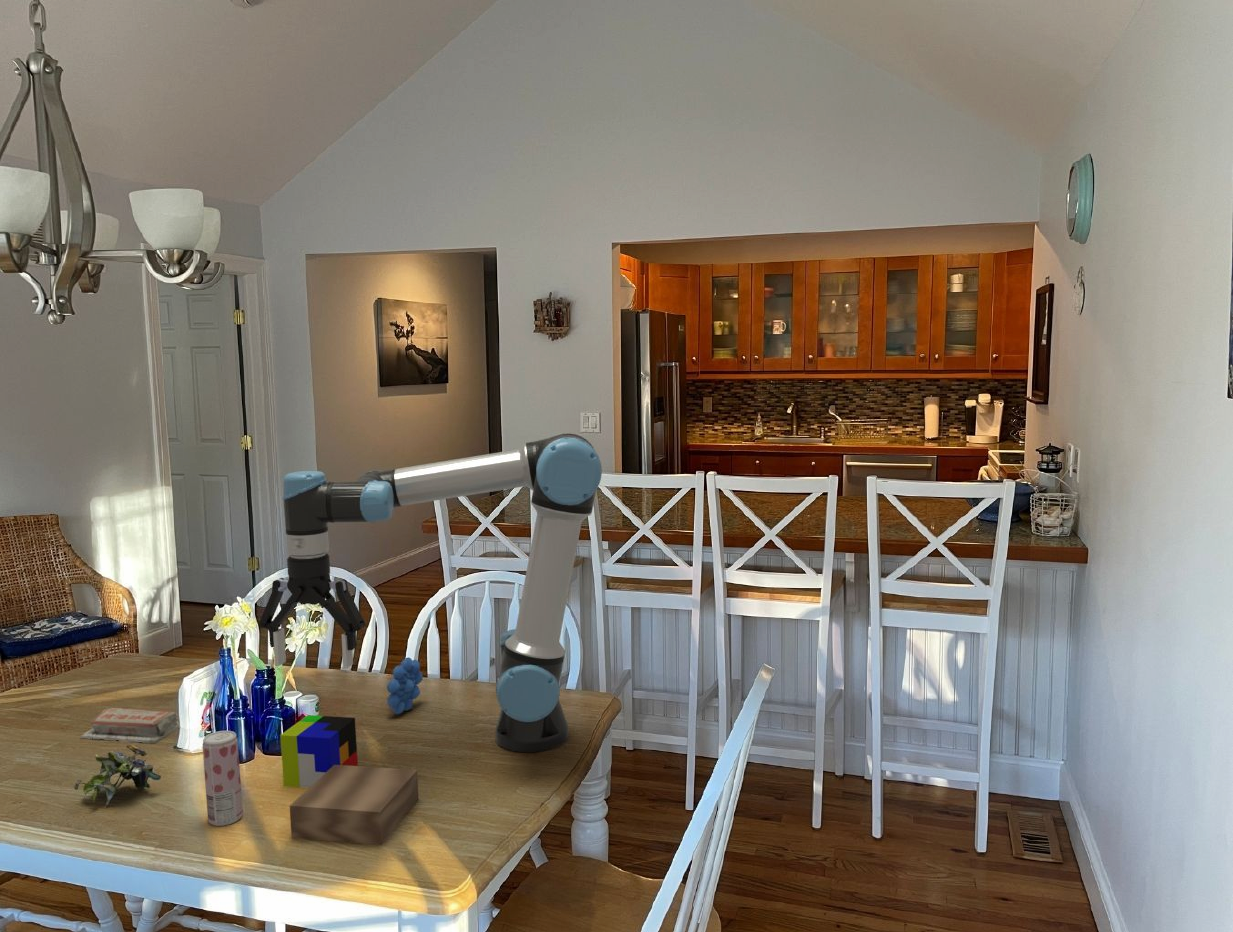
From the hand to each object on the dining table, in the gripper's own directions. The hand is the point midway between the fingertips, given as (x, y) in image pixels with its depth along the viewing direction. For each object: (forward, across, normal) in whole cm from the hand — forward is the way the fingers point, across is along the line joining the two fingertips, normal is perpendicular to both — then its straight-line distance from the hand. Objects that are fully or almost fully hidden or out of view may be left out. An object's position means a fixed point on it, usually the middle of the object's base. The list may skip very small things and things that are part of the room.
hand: (314, 665), depth 180 cm
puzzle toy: (+22, 0, 0) cm, 22 cm away
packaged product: (+23, -51, +16) cm, 58 cm away
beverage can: (+22, -9, -18) cm, 30 cm away
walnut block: (+22, +14, -15) cm, 30 cm away
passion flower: (+22, -33, -13) cm, 42 cm away
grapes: (+22, +3, +34) cm, 41 cm away
